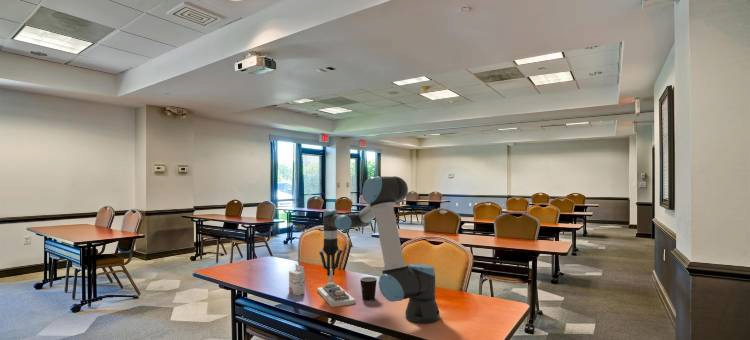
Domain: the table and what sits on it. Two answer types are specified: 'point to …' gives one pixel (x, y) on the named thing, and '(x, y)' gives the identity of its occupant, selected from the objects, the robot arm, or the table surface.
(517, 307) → the table surface
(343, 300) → the button panel
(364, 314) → the table surface
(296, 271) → the ink cartridge box
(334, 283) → the sage button
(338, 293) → the clay button
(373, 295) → the coffee mug
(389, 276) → the robot arm
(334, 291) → the slate button
